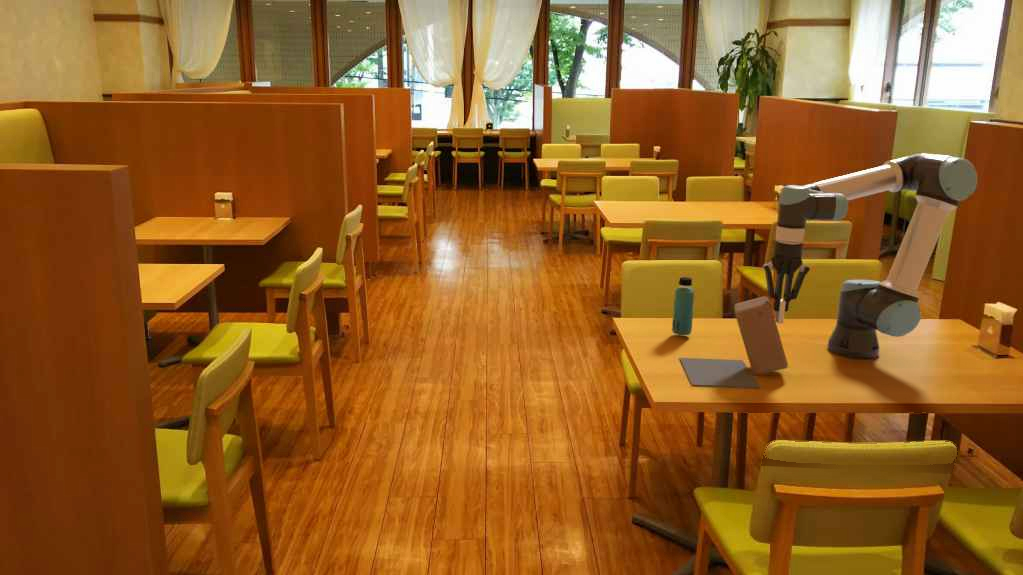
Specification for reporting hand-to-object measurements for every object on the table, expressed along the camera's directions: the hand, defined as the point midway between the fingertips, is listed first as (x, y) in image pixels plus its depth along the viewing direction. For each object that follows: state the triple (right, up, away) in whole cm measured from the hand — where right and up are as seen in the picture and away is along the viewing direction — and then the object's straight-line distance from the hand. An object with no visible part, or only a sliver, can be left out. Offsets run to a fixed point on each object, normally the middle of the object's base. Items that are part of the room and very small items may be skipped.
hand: (779, 321), depth 235 cm
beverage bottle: (-21, -6, +35) cm, 41 cm away
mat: (-17, -15, +3) cm, 23 cm away
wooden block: (-2, -13, +4) cm, 14 cm away
